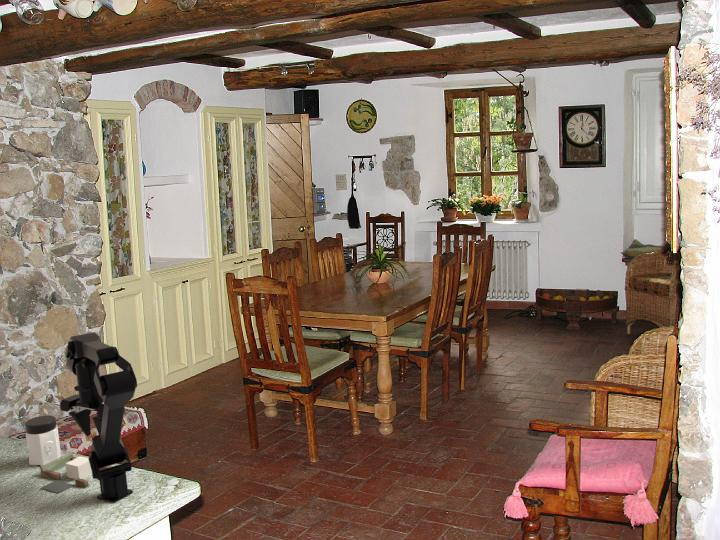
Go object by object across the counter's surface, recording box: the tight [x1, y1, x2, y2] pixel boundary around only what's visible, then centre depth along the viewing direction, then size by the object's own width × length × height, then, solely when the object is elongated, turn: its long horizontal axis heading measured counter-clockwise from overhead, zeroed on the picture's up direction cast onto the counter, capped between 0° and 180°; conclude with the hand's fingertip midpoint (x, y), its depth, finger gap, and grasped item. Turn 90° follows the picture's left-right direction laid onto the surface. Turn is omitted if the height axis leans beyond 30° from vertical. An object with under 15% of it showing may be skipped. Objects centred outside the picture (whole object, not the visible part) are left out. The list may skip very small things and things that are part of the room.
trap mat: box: [39, 479, 75, 495], centre depth 198 cm, size 7×5×1 cm
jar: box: [24, 415, 62, 467], centre depth 215 cm, size 9×8×12 cm
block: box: [65, 456, 92, 480], centre depth 204 cm, size 5×5×4 cm
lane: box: [40, 452, 113, 488], centre depth 205 cm, size 18×10×2 cm, turn 60°
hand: (95, 437), depth 199 cm, fingers open, 5 cm apart
